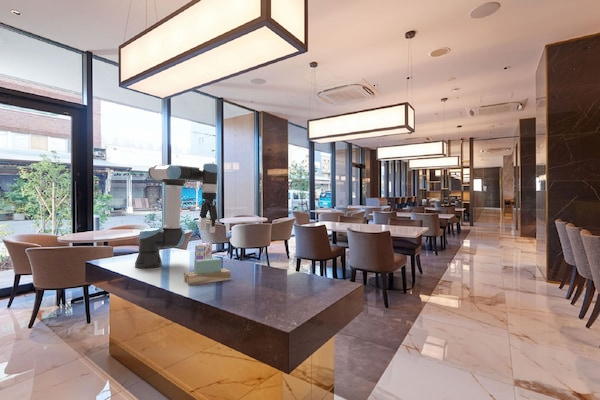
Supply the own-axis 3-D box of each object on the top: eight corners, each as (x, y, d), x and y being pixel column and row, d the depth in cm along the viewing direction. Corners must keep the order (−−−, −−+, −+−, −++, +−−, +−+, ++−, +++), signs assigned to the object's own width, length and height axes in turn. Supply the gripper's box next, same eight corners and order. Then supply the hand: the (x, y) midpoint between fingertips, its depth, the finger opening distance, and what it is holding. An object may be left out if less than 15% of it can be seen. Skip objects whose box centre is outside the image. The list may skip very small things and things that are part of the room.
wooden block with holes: (183, 281, 155) (184, 272, 155) (223, 275, 168) (224, 268, 168) (189, 285, 148) (189, 276, 148) (230, 279, 161) (230, 271, 161)
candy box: (203, 274, 171) (205, 245, 171) (193, 273, 171) (194, 245, 171) (211, 268, 184) (212, 242, 185) (202, 268, 185) (203, 242, 185)
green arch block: (193, 279, 156) (194, 260, 156) (217, 276, 164) (218, 257, 164) (196, 281, 152) (197, 261, 152) (220, 277, 160) (221, 259, 160)
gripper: (194, 191, 168) (193, 228, 168) (211, 192, 148) (209, 234, 149) (207, 192, 173) (206, 228, 173) (225, 192, 153) (223, 233, 153)
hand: (207, 231), depth 161 cm, fingers open, 13 cm apart
